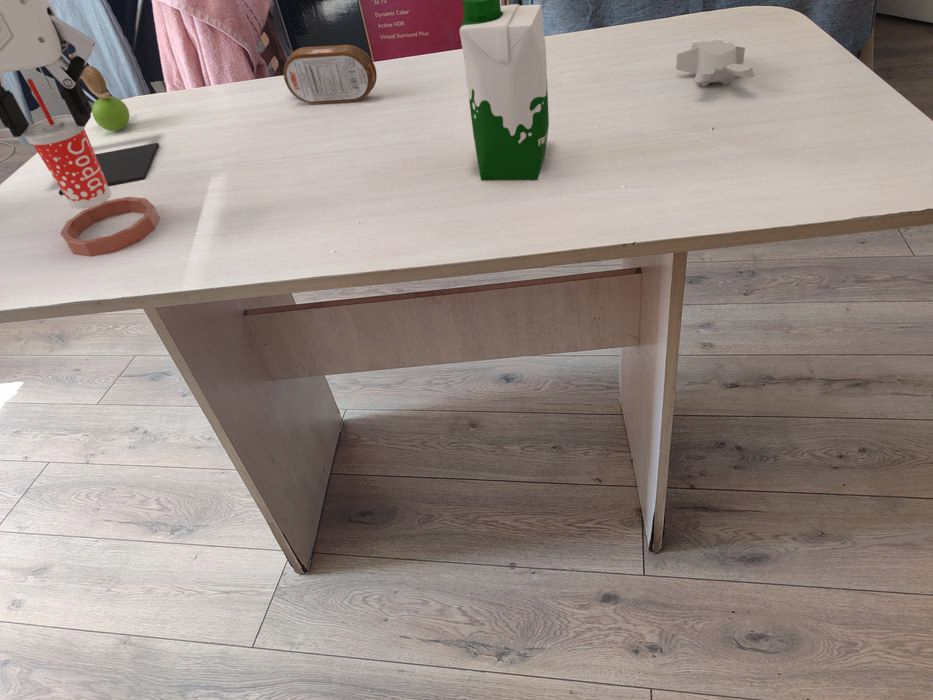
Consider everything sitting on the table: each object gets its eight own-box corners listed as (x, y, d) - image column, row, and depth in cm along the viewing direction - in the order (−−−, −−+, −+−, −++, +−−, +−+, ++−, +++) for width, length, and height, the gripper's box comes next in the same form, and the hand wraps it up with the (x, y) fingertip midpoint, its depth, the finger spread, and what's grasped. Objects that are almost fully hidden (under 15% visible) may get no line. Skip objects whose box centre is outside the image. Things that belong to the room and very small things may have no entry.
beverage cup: (76, 217, 77) (9, 94, 67) (55, 202, 80) (-12, 84, 71) (126, 194, 80) (69, 74, 71) (104, 181, 83) (46, 65, 74)
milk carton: (486, 152, 90) (468, -14, 76) (554, 151, 87) (547, -20, 74) (472, 184, 83) (450, 10, 70) (545, 184, 81) (536, 4, 68)
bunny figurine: (737, 31, 101) (765, 52, 89) (734, 67, 104) (760, 93, 91) (672, 38, 102) (690, 59, 90) (670, 73, 105) (687, 99, 93)
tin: (381, 95, 110) (370, 41, 105) (376, 102, 108) (365, 48, 102) (296, 99, 113) (281, 47, 108) (289, 107, 111) (274, 54, 106)
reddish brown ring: (63, 271, 79) (50, 250, 77) (86, 227, 87) (74, 206, 85) (153, 254, 80) (142, 232, 78) (168, 211, 88) (158, 190, 86)
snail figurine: (120, 120, 116) (86, 47, 109) (141, 125, 113) (108, 50, 105) (92, 132, 113) (55, 59, 106) (113, 138, 110) (76, 63, 102)
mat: (60, 195, 96) (58, 192, 95) (82, 159, 105) (80, 156, 104) (144, 179, 96) (143, 176, 96) (159, 145, 105) (158, 142, 105)
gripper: (-163, -39, 59) (-41, 154, 71) (39, -68, 60) (126, 127, 72) (-122, -55, 65) (-15, 126, 76) (62, -82, 66) (139, 101, 77)
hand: (53, 125), depth 74 cm, fingers closed on beverage cup, 6 cm apart
